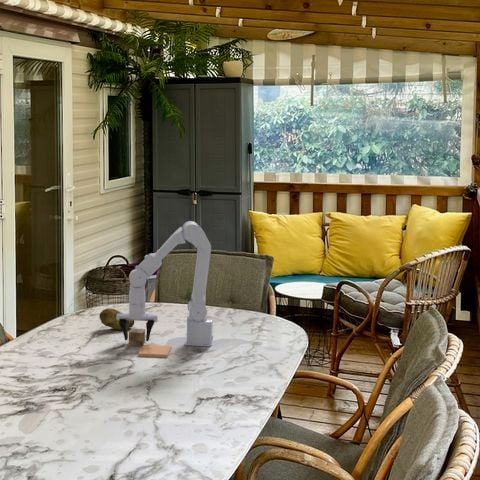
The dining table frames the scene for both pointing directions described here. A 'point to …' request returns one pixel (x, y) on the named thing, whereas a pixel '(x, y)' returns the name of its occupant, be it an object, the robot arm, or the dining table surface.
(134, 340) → the walnut cube
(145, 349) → the terracotta tile
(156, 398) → the dining table surface
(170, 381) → the dining table surface
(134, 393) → the dining table surface
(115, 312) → the olive green oval piece
